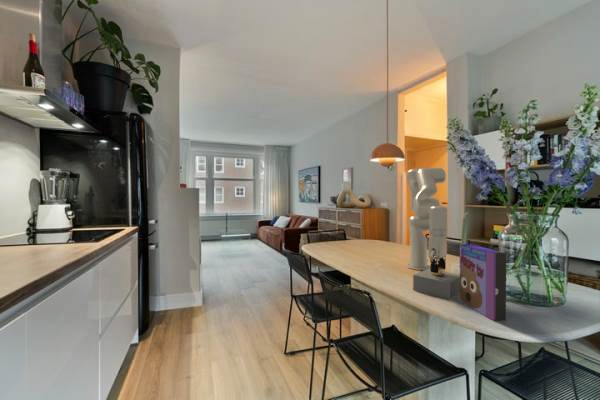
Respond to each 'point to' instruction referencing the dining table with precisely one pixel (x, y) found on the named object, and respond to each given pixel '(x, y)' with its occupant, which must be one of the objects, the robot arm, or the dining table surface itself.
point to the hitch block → (437, 284)
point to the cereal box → (483, 281)
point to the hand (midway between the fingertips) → (438, 270)
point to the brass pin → (439, 272)
